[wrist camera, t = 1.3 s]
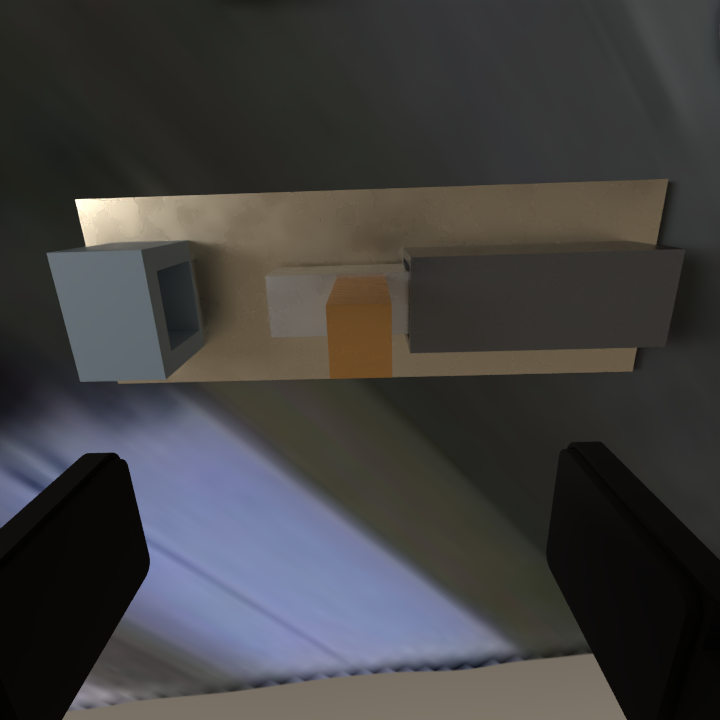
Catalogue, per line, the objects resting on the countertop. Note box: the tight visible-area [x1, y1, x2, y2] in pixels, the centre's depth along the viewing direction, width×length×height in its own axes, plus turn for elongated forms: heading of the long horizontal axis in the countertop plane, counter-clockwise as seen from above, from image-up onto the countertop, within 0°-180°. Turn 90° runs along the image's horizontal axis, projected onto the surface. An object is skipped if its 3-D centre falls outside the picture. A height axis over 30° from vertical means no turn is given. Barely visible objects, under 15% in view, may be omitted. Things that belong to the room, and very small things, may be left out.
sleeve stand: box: [76, 179, 686, 384], centre depth 31 cm, size 41×14×7 cm, turn 92°
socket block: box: [47, 240, 204, 382], centre depth 30 cm, size 6×8×7 cm
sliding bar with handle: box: [265, 264, 410, 379], centre depth 26 cm, size 23×4×12 cm, turn 92°
